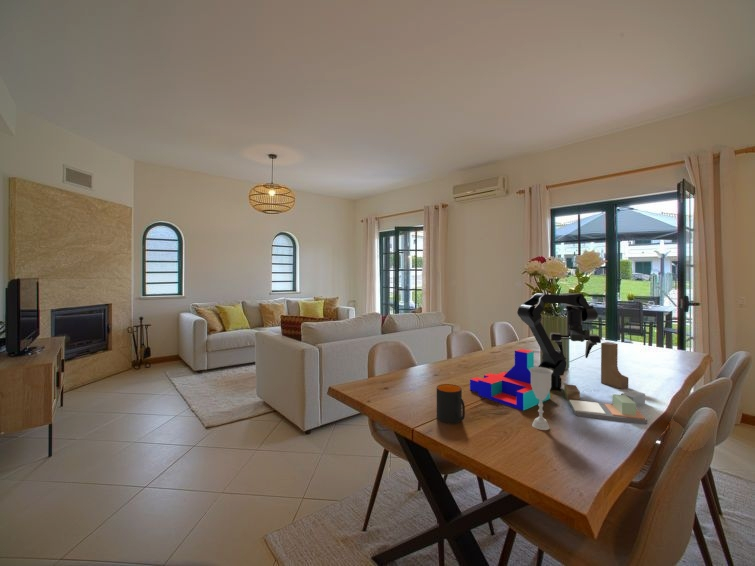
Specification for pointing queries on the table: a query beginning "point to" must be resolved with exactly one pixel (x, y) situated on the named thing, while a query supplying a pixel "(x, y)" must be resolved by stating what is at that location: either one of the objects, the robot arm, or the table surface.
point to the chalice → (540, 392)
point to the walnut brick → (571, 392)
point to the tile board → (604, 412)
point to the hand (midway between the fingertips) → (574, 357)
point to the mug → (450, 404)
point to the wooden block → (611, 366)
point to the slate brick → (636, 397)
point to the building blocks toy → (510, 384)
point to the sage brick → (624, 404)
